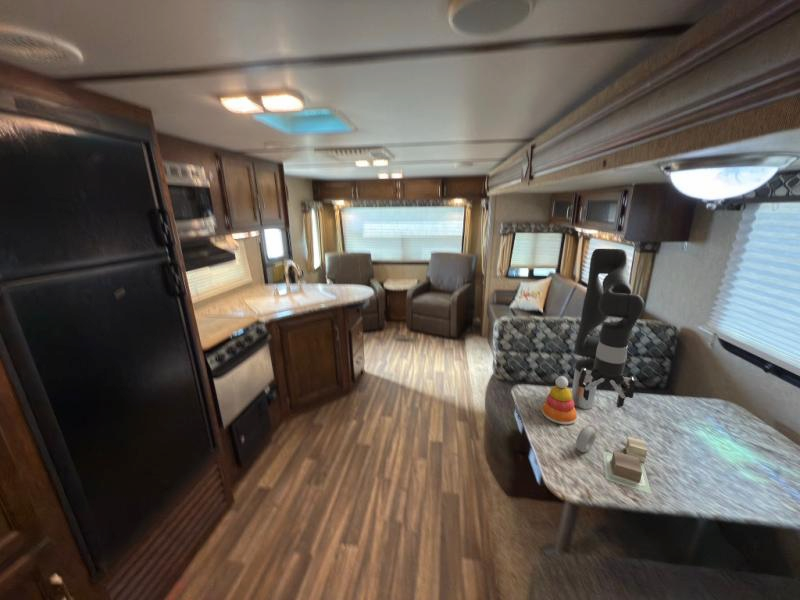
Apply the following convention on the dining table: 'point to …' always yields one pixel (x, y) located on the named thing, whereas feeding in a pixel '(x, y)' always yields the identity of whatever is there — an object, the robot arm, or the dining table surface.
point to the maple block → (636, 448)
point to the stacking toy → (560, 404)
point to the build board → (610, 475)
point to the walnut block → (626, 466)
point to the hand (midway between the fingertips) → (601, 402)
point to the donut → (585, 439)
